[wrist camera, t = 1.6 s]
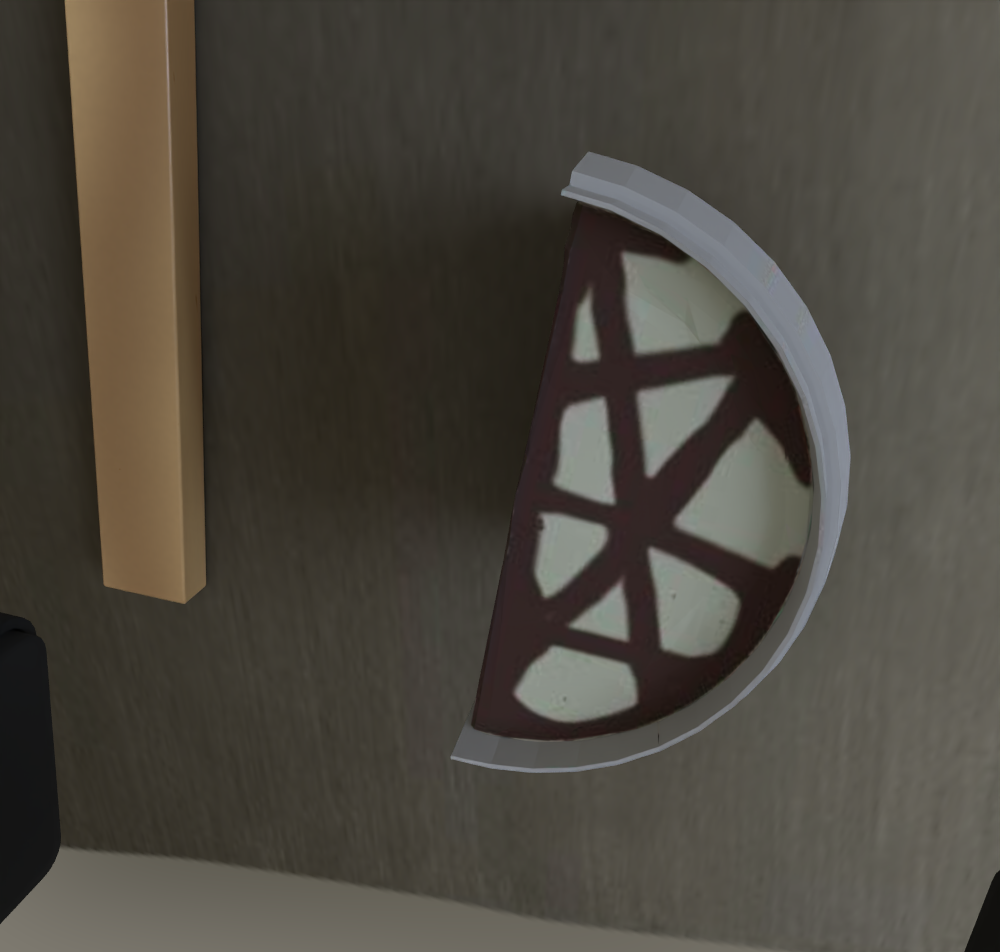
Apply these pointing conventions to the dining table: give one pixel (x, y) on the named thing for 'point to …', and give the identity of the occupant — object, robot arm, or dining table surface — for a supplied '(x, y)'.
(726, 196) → the dining table surface
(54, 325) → the dining table surface
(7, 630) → the robot arm
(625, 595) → the food container
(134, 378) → the strip
